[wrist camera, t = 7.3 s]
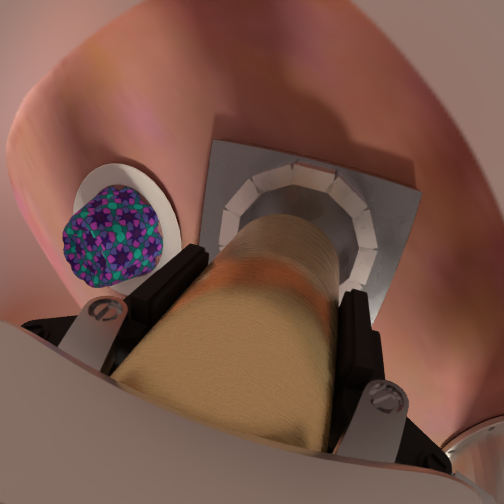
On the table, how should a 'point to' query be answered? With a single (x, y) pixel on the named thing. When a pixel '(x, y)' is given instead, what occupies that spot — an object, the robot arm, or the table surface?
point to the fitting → (251, 337)
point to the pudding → (119, 229)
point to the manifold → (312, 209)
